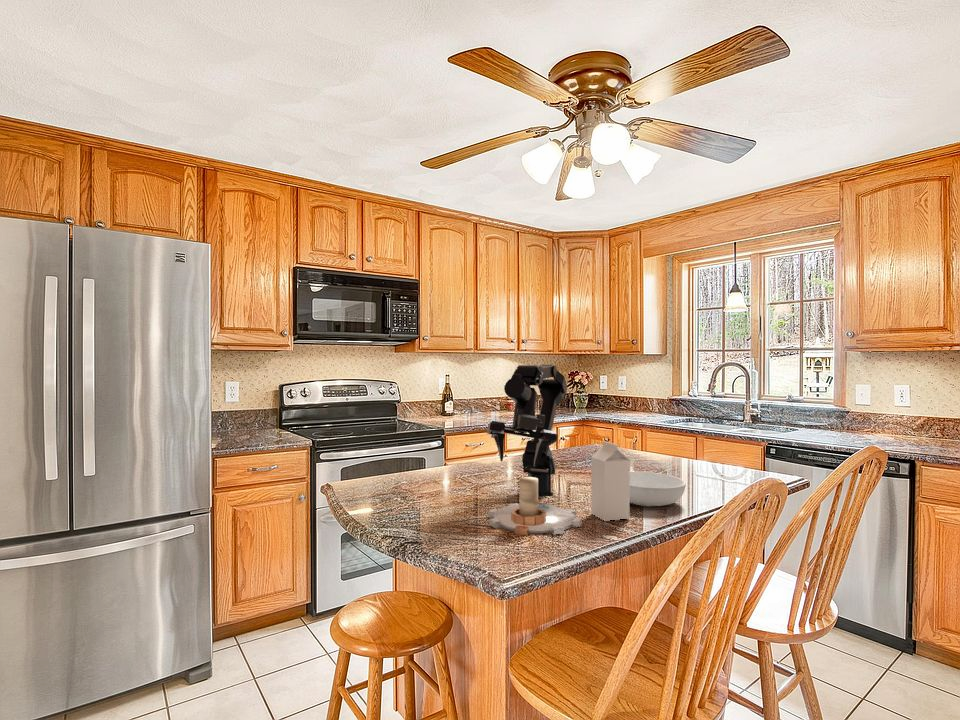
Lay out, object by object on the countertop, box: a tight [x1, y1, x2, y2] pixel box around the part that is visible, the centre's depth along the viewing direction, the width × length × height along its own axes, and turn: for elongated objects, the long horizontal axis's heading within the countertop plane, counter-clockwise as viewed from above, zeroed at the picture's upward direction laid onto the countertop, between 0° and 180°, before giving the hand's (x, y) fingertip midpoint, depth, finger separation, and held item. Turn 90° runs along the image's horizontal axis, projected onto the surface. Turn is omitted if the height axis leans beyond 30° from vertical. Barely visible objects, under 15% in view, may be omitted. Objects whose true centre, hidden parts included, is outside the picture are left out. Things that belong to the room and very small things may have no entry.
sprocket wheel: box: [487, 502, 583, 536], centre depth 136 cm, size 23×23×4 cm
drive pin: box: [518, 476, 539, 516], centre depth 131 cm, size 4×4×10 cm
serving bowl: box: [629, 471, 687, 507], centre depth 154 cm, size 21×21×7 cm
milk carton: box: [590, 440, 631, 522], centre depth 139 cm, size 7×7×19 cm
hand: (518, 464), depth 147 cm, fingers open, 9 cm apart
